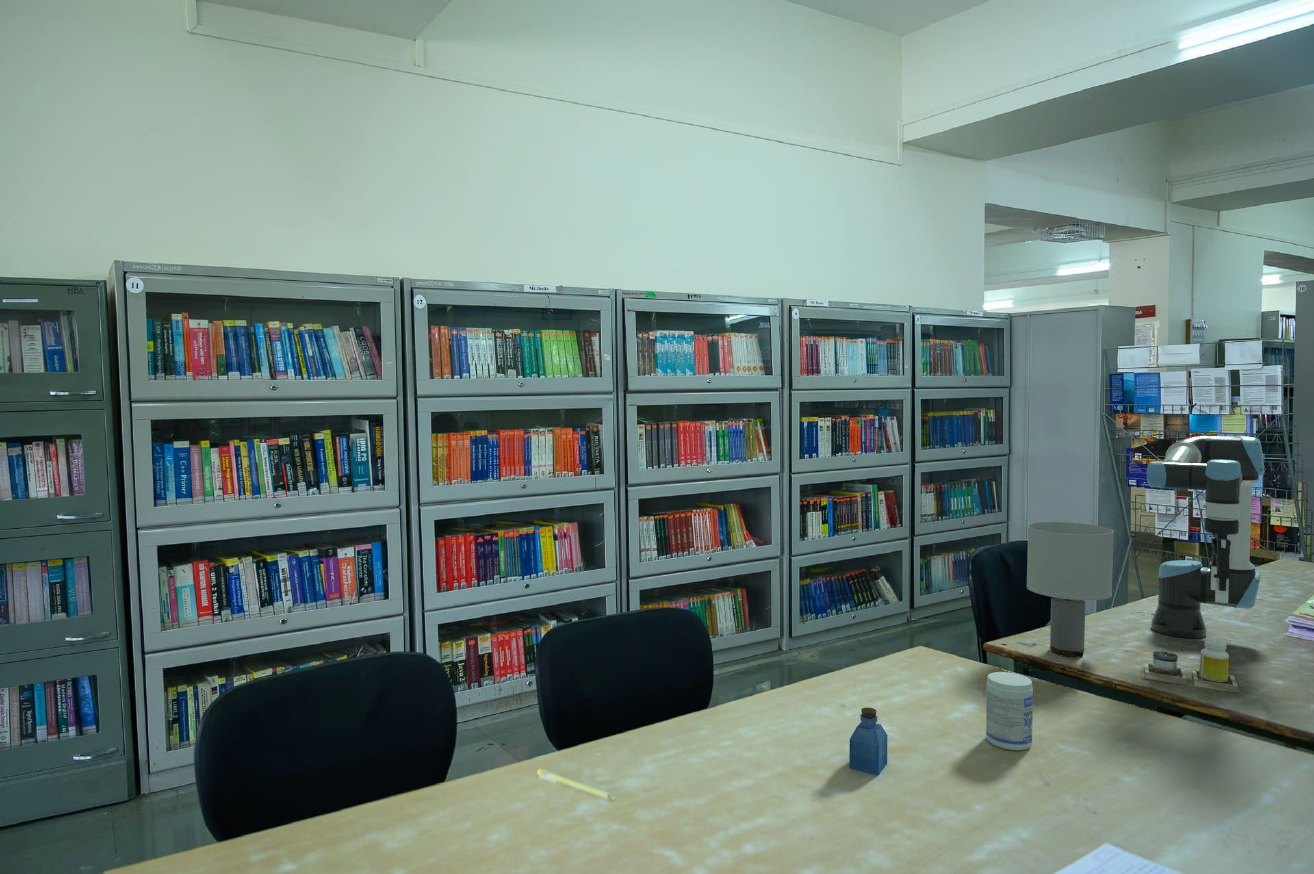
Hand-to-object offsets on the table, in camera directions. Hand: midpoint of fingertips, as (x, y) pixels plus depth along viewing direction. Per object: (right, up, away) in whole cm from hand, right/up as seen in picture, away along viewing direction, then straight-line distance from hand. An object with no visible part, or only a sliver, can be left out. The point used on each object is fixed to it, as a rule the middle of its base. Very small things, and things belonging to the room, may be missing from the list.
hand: (1219, 596), depth 212 cm
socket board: (-8, -24, 0) cm, 25 cm away
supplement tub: (-72, -26, -35) cm, 84 cm away
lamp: (-27, -23, +27) cm, 44 cm away
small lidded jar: (-13, -23, +3) cm, 26 cm away
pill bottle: (-3, -23, -3) cm, 23 cm away
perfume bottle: (-107, -27, -45) cm, 119 cm away
